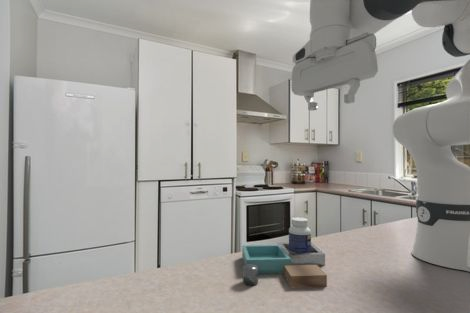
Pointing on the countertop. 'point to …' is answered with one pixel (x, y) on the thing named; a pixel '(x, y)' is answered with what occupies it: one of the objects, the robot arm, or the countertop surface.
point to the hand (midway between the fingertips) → (329, 106)
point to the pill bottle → (299, 236)
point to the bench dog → (250, 274)
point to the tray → (266, 258)
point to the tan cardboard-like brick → (305, 276)
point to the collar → (305, 256)
